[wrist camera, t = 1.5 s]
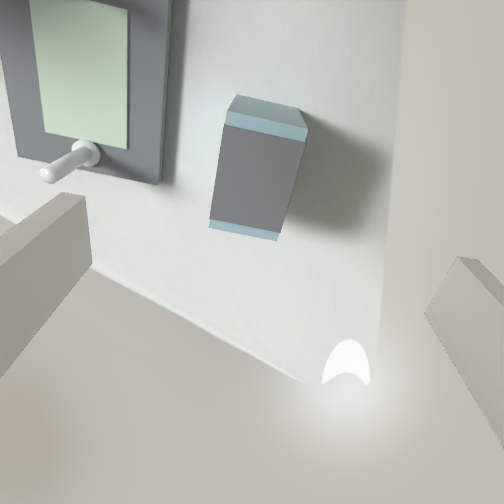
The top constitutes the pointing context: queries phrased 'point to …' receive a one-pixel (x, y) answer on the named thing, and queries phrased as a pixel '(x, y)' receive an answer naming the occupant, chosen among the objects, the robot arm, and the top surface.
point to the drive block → (257, 167)
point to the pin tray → (88, 84)
